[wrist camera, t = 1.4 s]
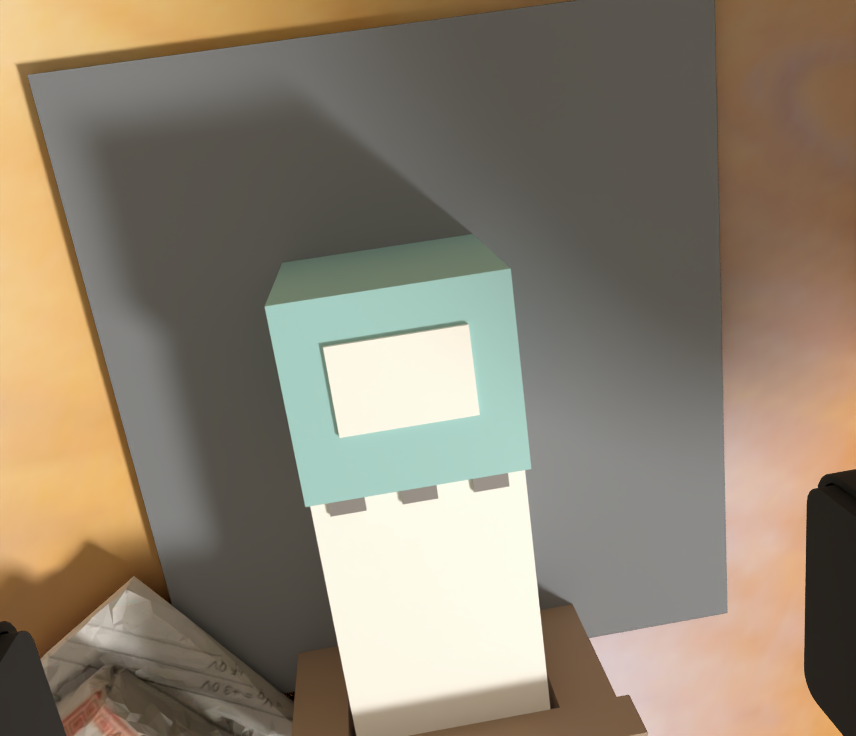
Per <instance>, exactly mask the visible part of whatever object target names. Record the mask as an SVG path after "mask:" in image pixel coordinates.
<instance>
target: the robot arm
mask: <svg viewBox="0 0 856 736" xmlns="http://www.w3.org/2000/svg"><path fill="white" fill-rule="evenodd" d="M804 672H805V678H806V682H807V685H808V688H809V691H810V693H811V695H812V697H813V698H814V700H815V701H816V703H817V704H818V705H819V706H820V708H821V709H822V710H823V711H824V713H825V714H826V715H827V716H828V717H829V719H830V720H831V721H832V722H833V724H834V725H835V726H836V727H837V728H838V730H839V731H840V732H841V733H842V735H843V736H856V469H854V470H849V471H843V472H837V473H832V474H826V475H825V476H823V477H822V478H821V480H820V482H819V484H818V488H816V489H813V490H811V491H810V492H809V495H808V498H807V527H806V587H805V648H804ZM0 736H67V735H66V733H65V730H64V727H63V724H62V721H61V718H60V715H59V712H58V709H57V706H56V703H55V701H54V698H53V695H52V692H51V689H50V686H49V683H48V680H47V677H46V674H45V672H44V669H43V666H42V663H41V660H40V657H39V654H38V651H37V648H36V645H35V643H34V640H33V638H32V636H31V635H30V634H29V633H28V632H26V631H20V632H17V631H16V628H15V627H14V626H13V625H12V624H11V623H9V622H6V621H3V622H0Z"/></svg>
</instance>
